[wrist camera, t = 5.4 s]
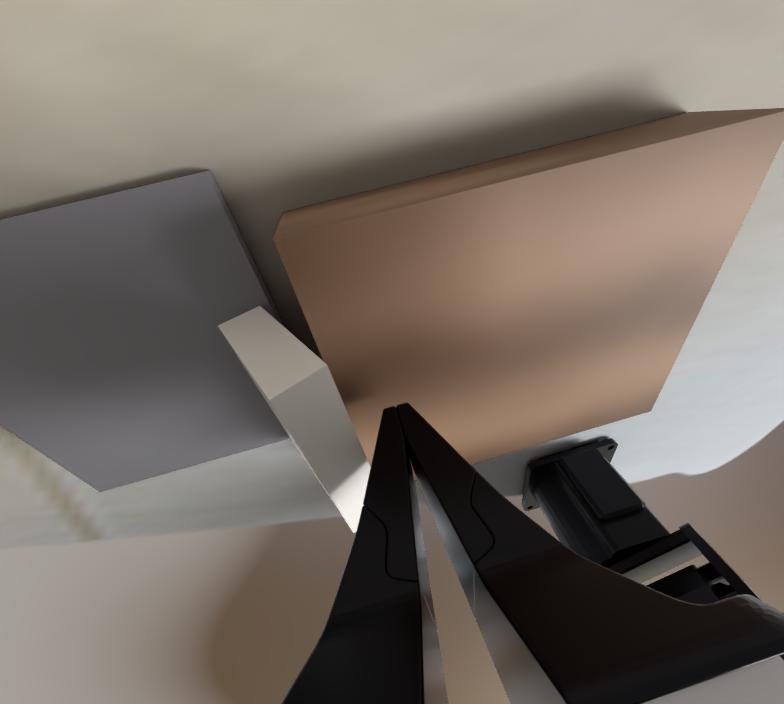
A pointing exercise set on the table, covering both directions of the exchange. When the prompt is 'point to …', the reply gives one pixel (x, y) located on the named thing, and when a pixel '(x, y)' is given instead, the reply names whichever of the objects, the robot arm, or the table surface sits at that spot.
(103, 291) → the mat
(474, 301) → the serving board
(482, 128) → the table surface
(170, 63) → the table surface
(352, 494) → the white rectangular block
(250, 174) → the table surface
